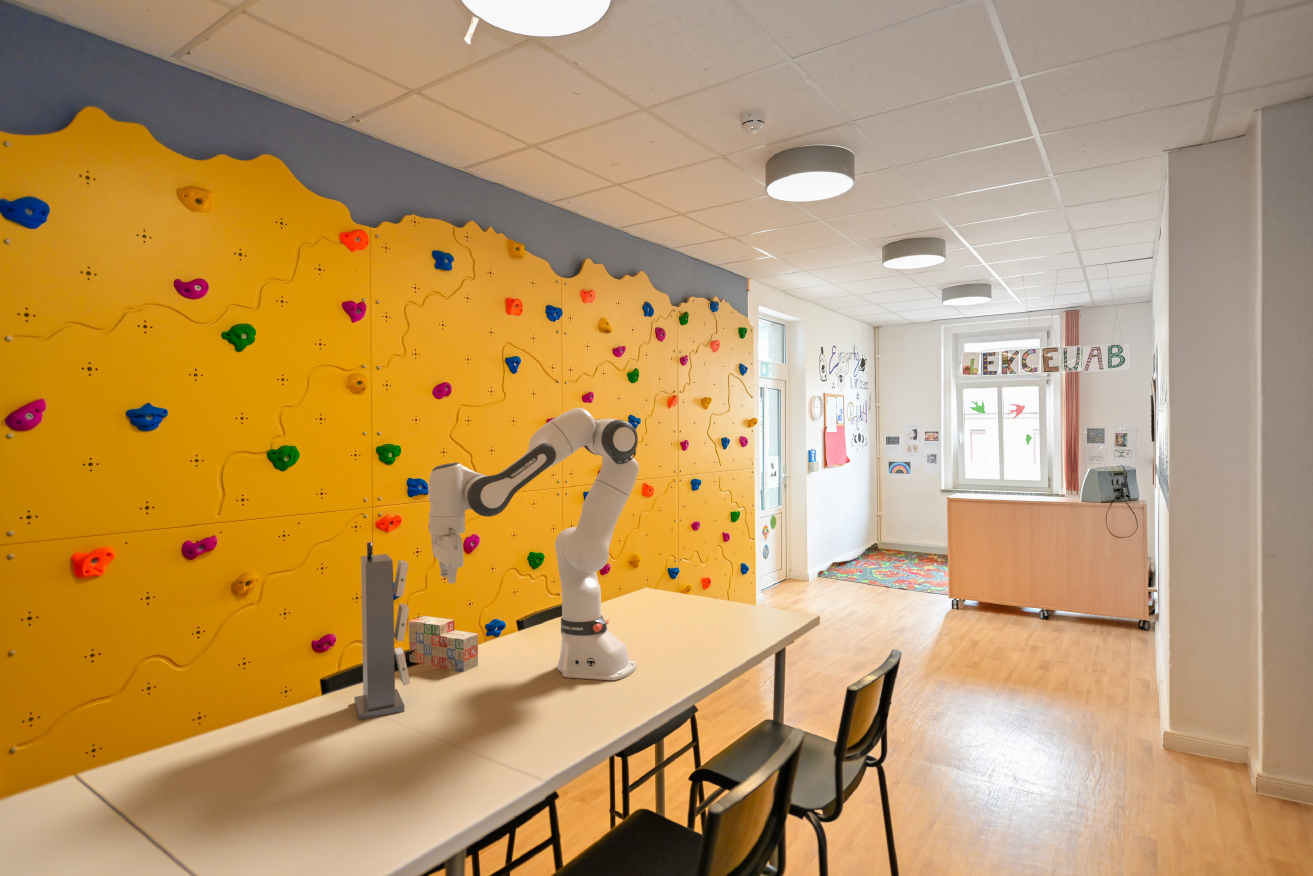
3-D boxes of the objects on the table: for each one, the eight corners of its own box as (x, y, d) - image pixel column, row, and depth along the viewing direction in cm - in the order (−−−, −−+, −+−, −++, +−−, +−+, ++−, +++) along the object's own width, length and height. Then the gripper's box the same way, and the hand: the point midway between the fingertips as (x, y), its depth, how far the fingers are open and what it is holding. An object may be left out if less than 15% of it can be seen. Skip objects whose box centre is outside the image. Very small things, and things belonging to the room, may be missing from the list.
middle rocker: (401, 635, 169) (406, 604, 169) (404, 641, 164) (410, 608, 165) (393, 635, 168) (399, 603, 168) (396, 641, 163) (402, 608, 164)
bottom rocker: (407, 676, 169) (401, 646, 169) (411, 683, 165) (404, 652, 164) (400, 679, 169) (394, 649, 168) (403, 686, 164) (397, 655, 163)
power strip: (396, 694, 171) (394, 537, 171) (404, 711, 161) (401, 543, 161) (354, 702, 166) (351, 540, 166) (359, 720, 156) (356, 547, 156)
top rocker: (400, 592, 169) (405, 560, 169) (403, 596, 164) (409, 563, 165) (393, 592, 168) (398, 560, 168) (396, 596, 163) (401, 563, 164)
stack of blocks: (479, 665, 193) (478, 623, 193) (463, 672, 187) (462, 628, 187) (425, 655, 203) (424, 615, 203) (408, 661, 197) (408, 620, 197)
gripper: (469, 529, 164) (470, 585, 164) (451, 521, 182) (451, 571, 182) (443, 532, 161) (444, 589, 161) (427, 522, 179) (427, 574, 179)
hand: (448, 579), depth 172 cm, fingers open, 7 cm apart
